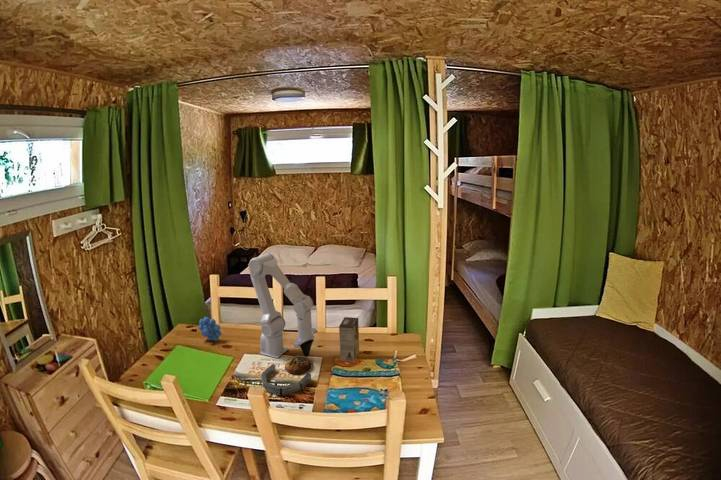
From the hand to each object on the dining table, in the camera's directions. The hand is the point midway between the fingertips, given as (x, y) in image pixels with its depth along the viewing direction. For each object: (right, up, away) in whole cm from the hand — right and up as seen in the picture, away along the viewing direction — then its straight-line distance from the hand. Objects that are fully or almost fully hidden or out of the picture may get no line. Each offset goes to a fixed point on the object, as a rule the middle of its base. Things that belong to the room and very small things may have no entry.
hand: (306, 355), depth 147 cm
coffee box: (+18, -1, +3) cm, 19 cm away
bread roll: (-2, -3, -5) cm, 6 cm away
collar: (-7, -5, -16) cm, 18 cm away
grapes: (-48, +1, +17) cm, 51 cm away
